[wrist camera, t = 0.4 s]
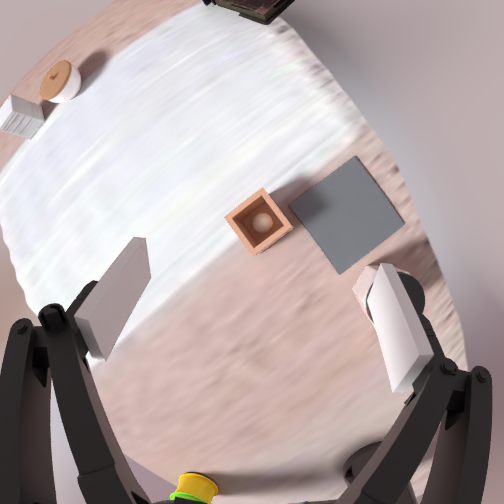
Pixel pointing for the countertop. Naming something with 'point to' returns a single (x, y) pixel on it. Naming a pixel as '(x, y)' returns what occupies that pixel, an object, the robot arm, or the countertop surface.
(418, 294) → the jar
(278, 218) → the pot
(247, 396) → the countertop surface
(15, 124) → the supplement box
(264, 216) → the ball
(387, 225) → the mat
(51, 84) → the lidded jar
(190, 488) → the stacking cups
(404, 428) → the robot arm
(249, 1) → the diary
